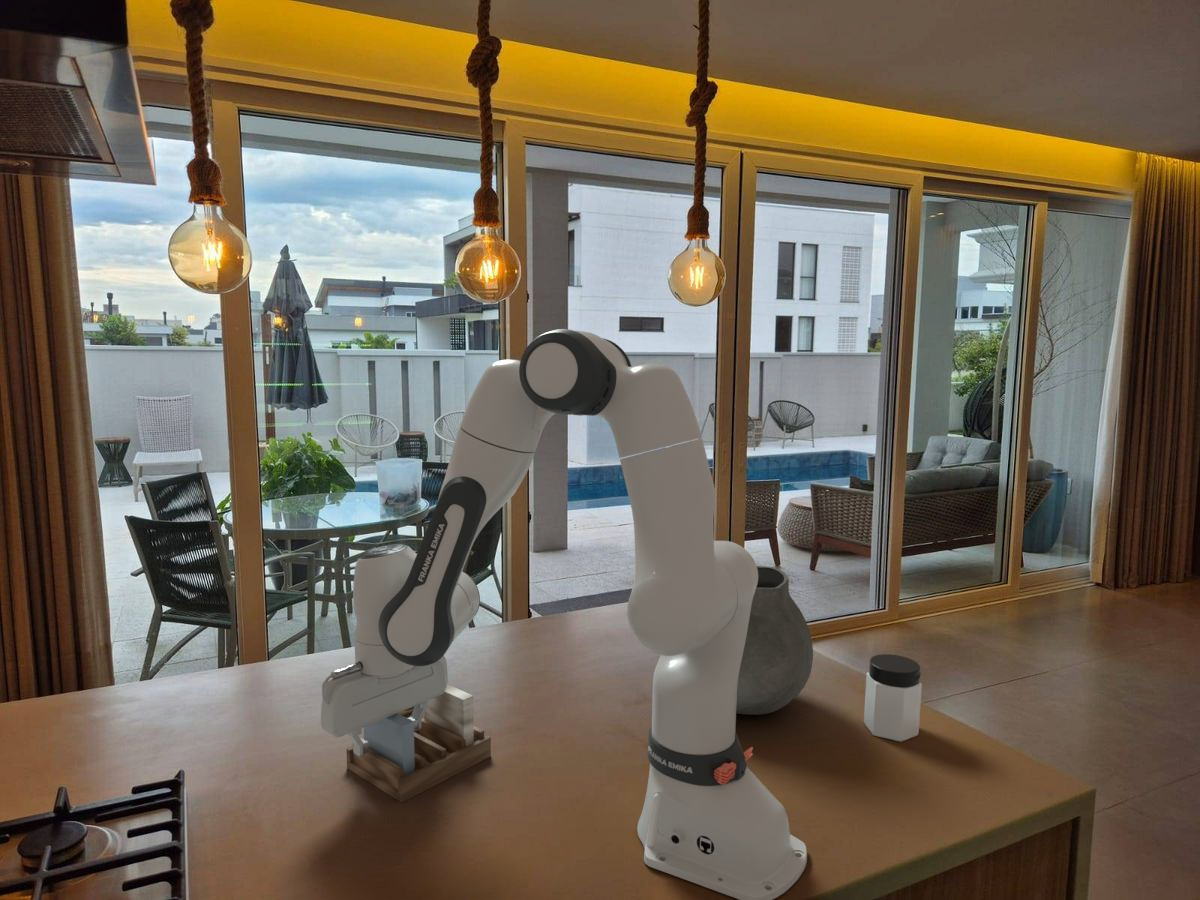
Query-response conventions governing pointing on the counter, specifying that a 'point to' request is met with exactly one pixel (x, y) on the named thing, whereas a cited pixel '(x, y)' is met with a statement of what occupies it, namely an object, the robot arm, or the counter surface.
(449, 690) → the rack
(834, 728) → the counter surface
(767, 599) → the ceramic pot
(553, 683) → the counter surface
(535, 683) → the counter surface
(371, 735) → the grey upright panel
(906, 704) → the jar
